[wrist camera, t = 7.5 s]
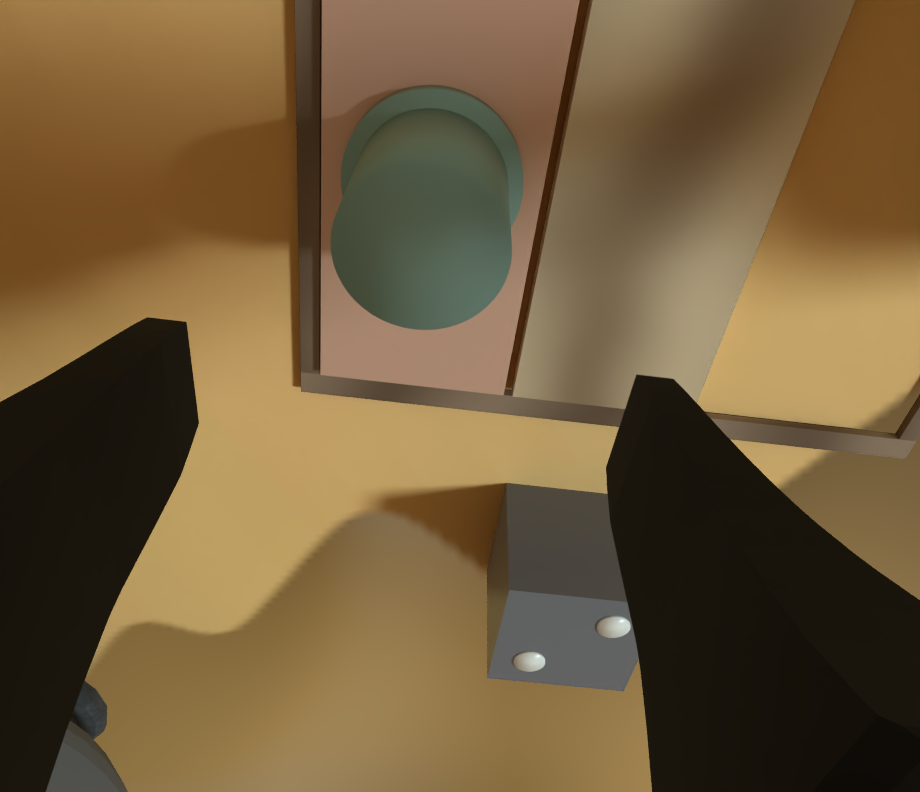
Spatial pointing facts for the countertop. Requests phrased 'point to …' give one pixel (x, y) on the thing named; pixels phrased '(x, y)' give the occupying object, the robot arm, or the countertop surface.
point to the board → (575, 194)
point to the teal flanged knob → (427, 208)
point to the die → (557, 592)
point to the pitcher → (85, 750)
